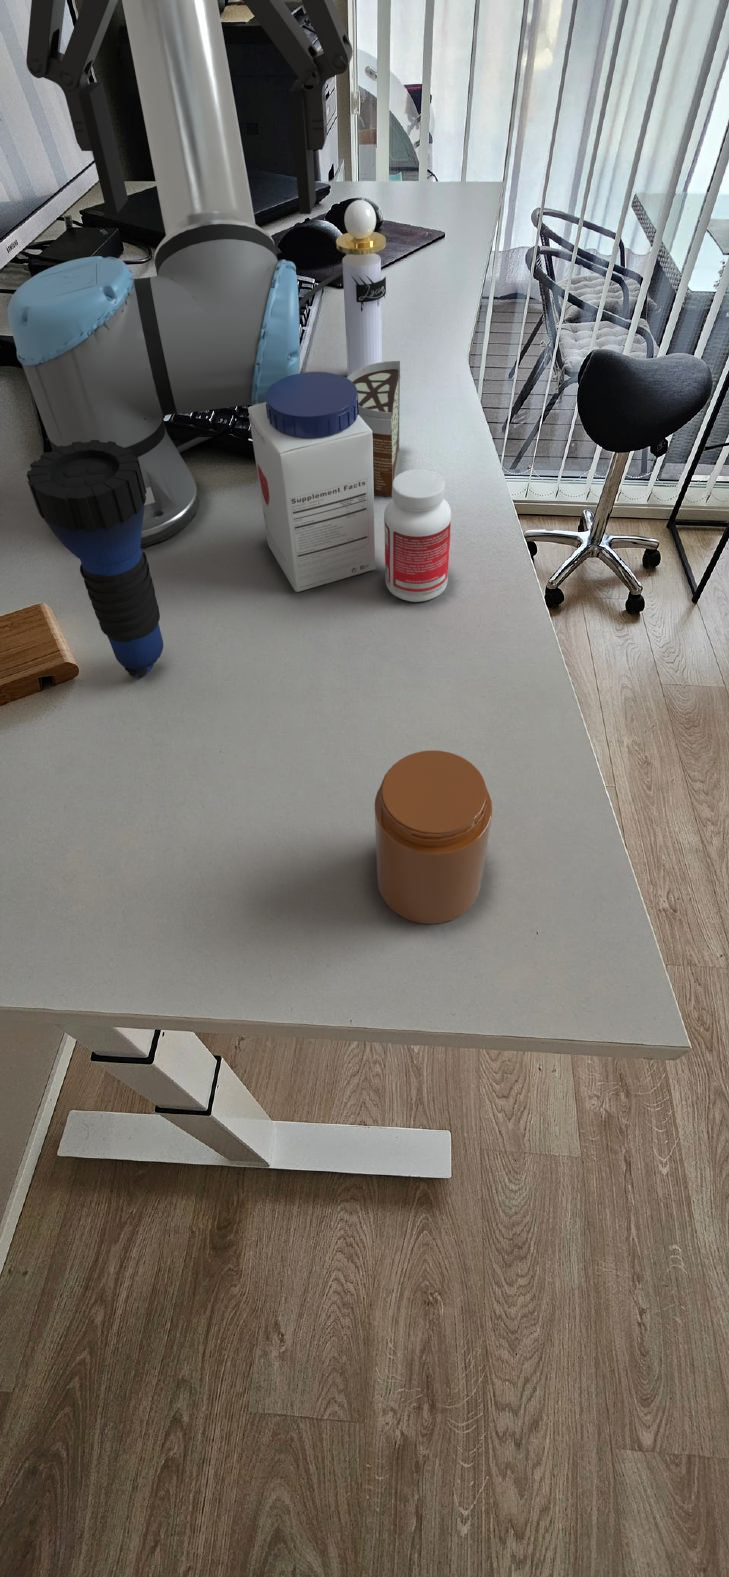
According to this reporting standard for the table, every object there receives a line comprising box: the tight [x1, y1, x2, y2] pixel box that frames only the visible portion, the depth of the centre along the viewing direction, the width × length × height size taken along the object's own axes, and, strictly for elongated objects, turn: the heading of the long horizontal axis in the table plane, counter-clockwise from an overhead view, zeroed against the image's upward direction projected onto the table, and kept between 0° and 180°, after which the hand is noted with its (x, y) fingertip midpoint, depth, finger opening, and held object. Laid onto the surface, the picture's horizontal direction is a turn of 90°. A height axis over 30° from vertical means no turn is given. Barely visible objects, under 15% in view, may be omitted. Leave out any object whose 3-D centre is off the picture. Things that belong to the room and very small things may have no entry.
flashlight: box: [26, 440, 164, 679], centre depth 66 cm, size 8×8×20 cm
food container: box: [346, 360, 401, 498], centre depth 89 cm, size 12×6×10 cm, turn 174°
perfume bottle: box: [335, 199, 387, 377], centre depth 99 cm, size 6×6×20 cm
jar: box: [374, 750, 493, 925], centre depth 55 cm, size 8×8×11 cm
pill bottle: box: [383, 468, 452, 603], centre depth 76 cm, size 6×6×11 cm
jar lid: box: [266, 371, 359, 438], centre depth 71 cm, size 8×8×2 cm
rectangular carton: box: [248, 402, 376, 593], centre depth 78 cm, size 9×9×15 cm
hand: (212, 207), depth 57 cm, fingers open, 13 cm apart
